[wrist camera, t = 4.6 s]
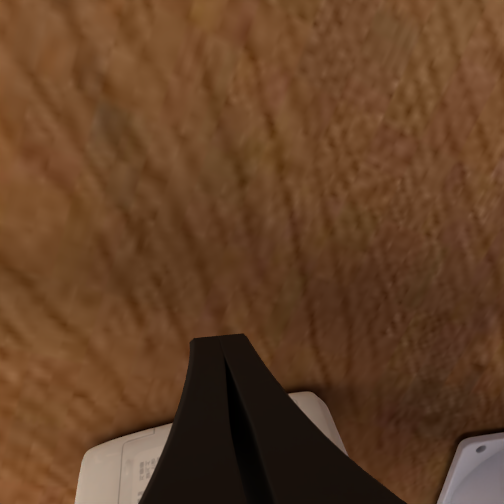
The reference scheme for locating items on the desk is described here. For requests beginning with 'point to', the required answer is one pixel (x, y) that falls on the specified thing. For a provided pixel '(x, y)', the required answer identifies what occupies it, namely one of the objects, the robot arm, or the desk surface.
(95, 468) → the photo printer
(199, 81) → the desk surface
